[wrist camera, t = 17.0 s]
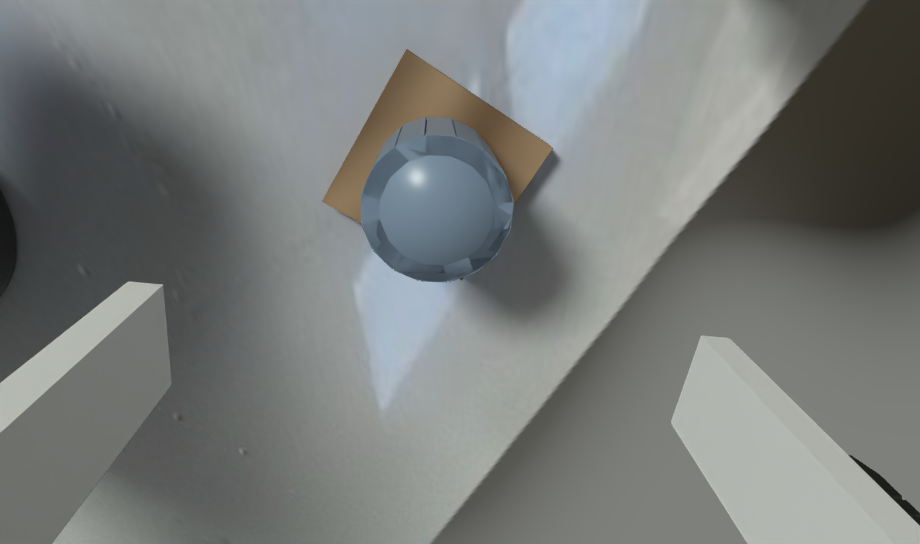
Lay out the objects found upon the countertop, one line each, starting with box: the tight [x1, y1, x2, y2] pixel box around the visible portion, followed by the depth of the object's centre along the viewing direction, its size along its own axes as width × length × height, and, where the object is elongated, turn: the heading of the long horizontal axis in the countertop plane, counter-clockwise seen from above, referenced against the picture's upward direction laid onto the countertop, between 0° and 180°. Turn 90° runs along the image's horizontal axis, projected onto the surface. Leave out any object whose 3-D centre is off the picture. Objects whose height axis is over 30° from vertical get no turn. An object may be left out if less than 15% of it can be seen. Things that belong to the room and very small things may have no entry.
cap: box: [361, 116, 514, 282], centre depth 28 cm, size 7×7×6 cm
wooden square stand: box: [322, 50, 553, 280], centre depth 30 cm, size 10×10×7 cm
